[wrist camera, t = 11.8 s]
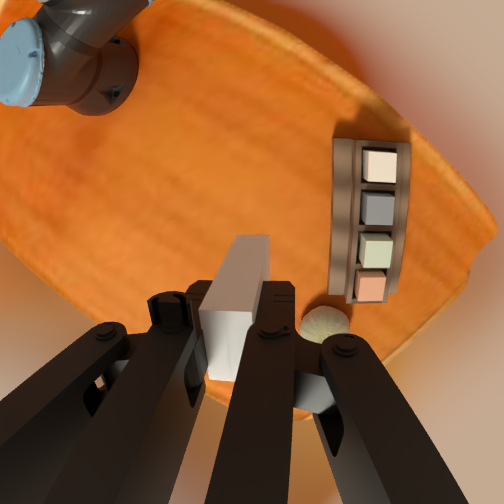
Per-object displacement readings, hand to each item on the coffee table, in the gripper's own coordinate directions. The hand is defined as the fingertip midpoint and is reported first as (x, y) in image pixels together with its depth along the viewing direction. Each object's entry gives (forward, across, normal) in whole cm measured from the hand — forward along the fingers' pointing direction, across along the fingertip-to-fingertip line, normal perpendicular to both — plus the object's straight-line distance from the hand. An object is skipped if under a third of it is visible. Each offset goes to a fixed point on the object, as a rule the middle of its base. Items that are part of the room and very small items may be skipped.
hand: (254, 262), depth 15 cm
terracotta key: (+31, +14, -16) cm, 37 cm away
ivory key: (+31, +14, +2) cm, 34 cm away
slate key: (+31, +14, -4) cm, 34 cm away
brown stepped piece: (+34, +14, -7) cm, 38 cm away
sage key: (+30, +14, -10) cm, 34 cm away
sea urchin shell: (+35, +8, -27) cm, 45 cm away
